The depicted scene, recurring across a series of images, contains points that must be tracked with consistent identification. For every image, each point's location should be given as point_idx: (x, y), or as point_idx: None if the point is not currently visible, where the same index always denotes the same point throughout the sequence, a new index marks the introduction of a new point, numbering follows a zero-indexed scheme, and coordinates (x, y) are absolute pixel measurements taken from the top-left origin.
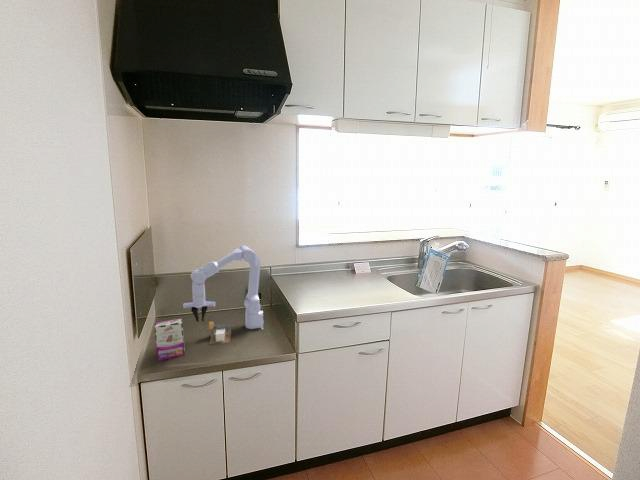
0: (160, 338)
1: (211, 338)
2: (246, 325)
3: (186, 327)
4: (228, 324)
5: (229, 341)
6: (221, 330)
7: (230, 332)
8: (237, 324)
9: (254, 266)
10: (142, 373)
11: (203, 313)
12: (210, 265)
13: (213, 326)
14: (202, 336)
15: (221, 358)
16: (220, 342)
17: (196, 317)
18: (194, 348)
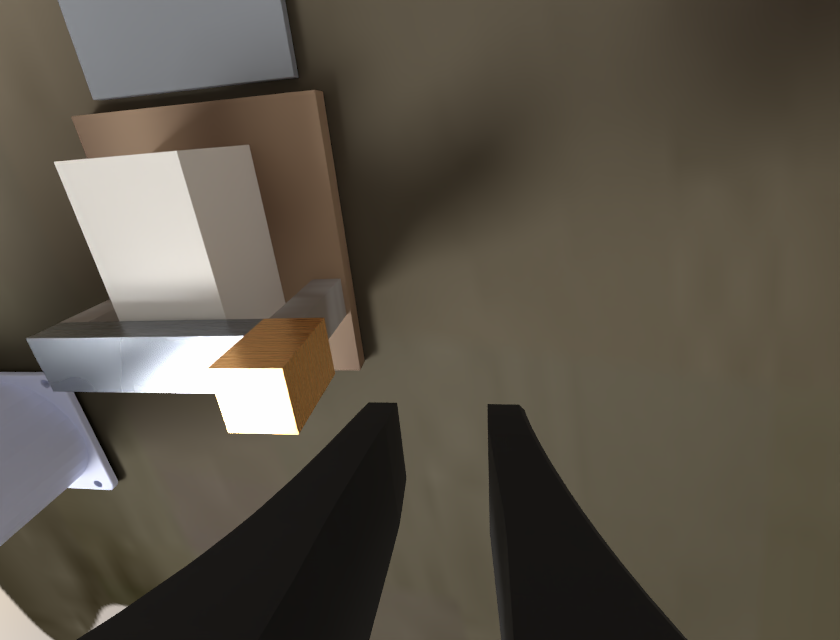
0: None
1: (329, 239)
2: (34, 428)
3: (652, 523)
4: (50, 371)
5: (89, 136)
6: (139, 268)
7: (110, 299)
8: (183, 489)
9: None
10: None
11: (201, 600)
12: None
13: (241, 341)
14: (457, 327)
15: None
16: (187, 120)
17: (529, 486)
18: (513, 11)
